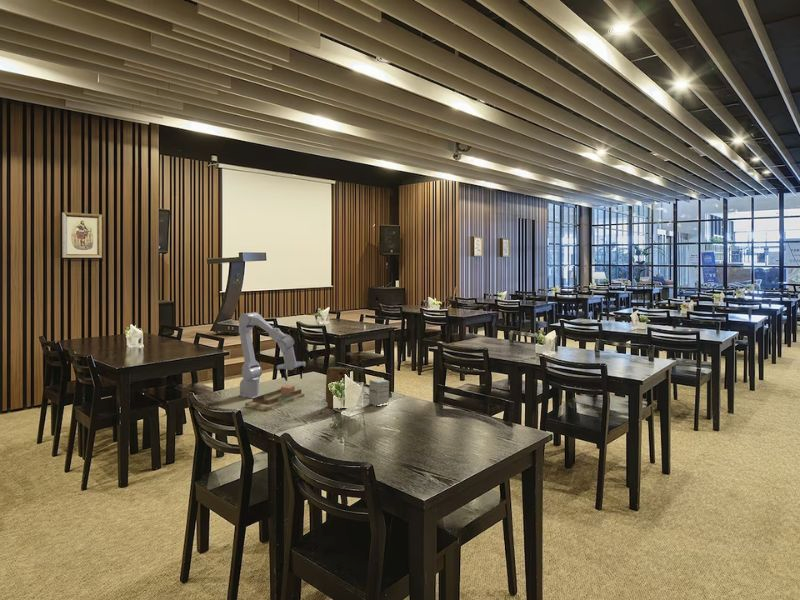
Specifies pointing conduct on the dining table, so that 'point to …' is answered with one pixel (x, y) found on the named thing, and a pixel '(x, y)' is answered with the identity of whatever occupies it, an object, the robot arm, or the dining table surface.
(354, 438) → the dining table surface
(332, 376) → the block
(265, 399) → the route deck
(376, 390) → the supplement box
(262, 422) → the dining table surface
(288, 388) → the block terracotta
